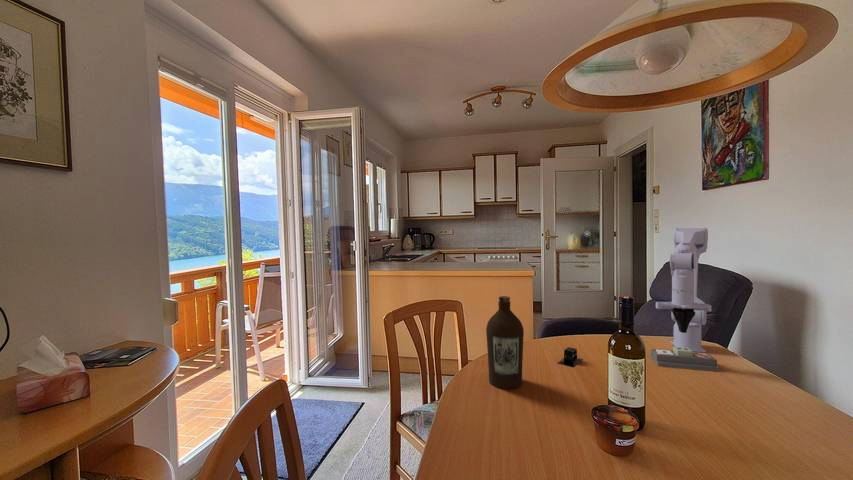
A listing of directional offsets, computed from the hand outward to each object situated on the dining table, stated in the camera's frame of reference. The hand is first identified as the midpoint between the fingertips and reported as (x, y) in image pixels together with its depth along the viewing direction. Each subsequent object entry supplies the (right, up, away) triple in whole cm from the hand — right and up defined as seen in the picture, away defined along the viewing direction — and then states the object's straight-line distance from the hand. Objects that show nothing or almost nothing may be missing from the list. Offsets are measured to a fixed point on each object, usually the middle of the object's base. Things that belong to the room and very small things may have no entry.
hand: (682, 331), depth 111 cm
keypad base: (0, -10, 0) cm, 10 cm away
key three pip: (+5, -9, -1) cm, 10 cm away
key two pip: (0, -8, 0) cm, 8 cm away
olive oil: (-60, -12, -10) cm, 62 cm away
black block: (-34, -12, +4) cm, 36 cm away
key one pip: (-5, -9, +2) cm, 10 cm away
